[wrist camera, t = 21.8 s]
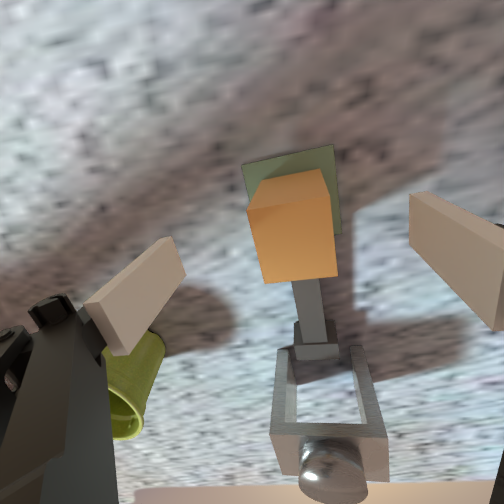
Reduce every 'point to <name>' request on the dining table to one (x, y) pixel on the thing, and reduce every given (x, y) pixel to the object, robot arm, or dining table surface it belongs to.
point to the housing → (330, 439)
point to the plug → (298, 252)
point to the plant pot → (132, 384)
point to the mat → (297, 164)
